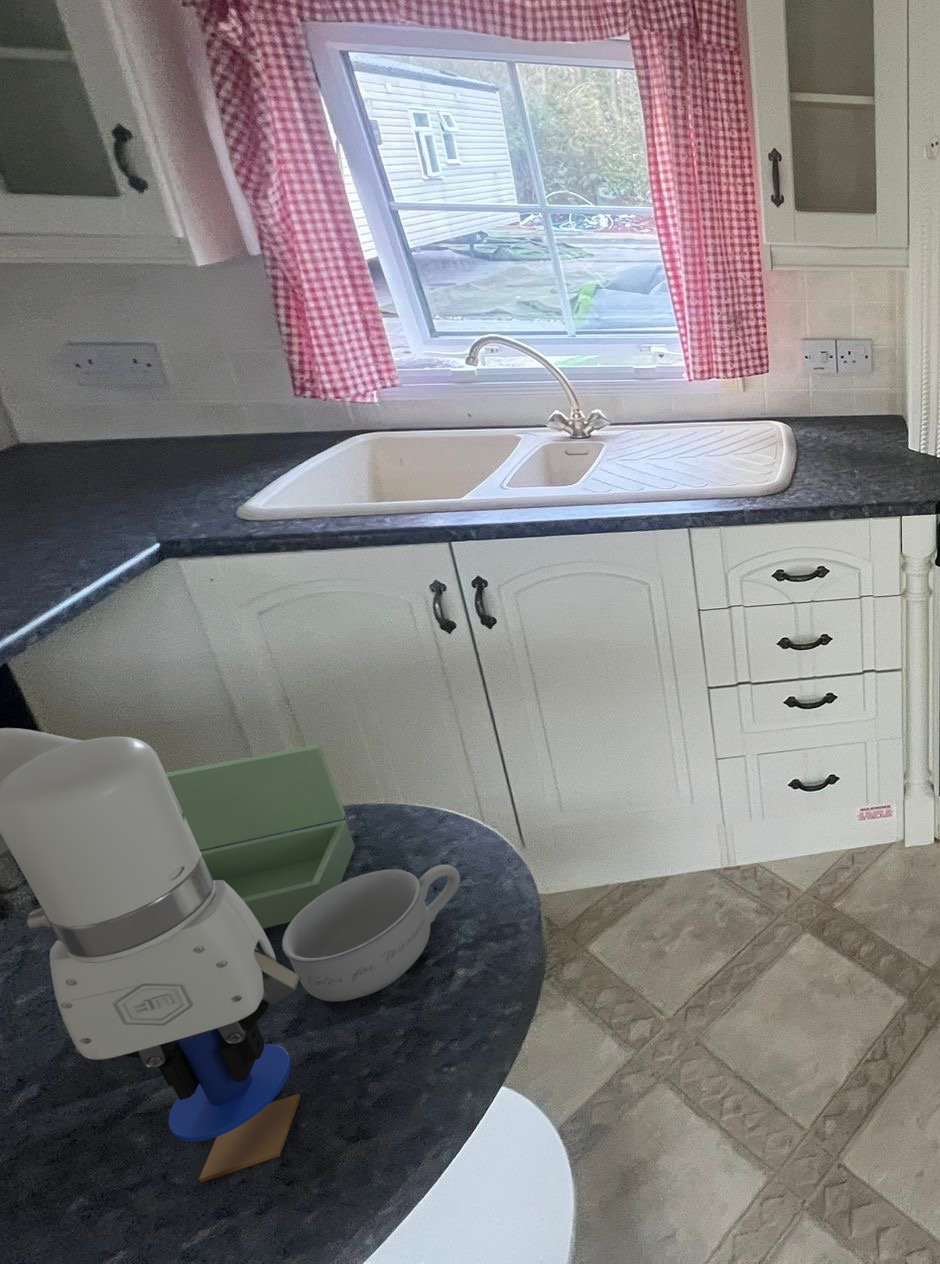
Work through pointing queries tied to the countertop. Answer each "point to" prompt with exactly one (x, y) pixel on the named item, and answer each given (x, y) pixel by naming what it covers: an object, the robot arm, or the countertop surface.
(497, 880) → the countertop surface
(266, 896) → the green wooden box
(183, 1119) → the blue cylinder on disc
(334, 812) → the hatch
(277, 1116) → the trivet
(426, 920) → the teacup
